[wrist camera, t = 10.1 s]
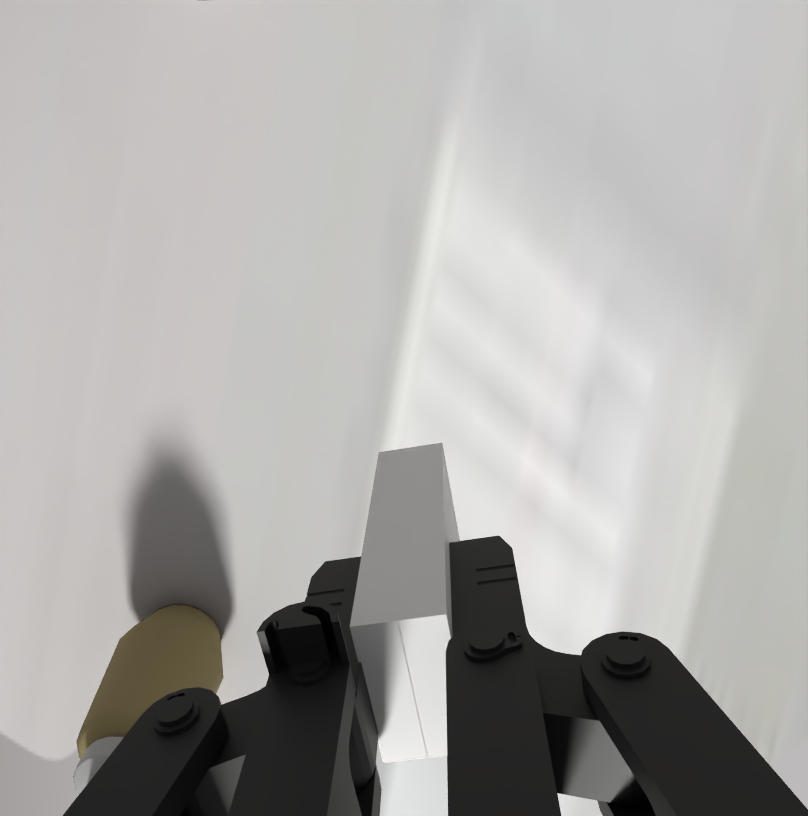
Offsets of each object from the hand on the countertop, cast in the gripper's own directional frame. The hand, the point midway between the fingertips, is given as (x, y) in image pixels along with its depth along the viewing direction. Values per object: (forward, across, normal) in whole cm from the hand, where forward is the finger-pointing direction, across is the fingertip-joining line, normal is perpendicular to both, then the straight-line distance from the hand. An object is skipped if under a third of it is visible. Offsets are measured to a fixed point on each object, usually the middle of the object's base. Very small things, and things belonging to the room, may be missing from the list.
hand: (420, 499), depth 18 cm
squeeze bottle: (+33, -24, -25) cm, 47 cm away
